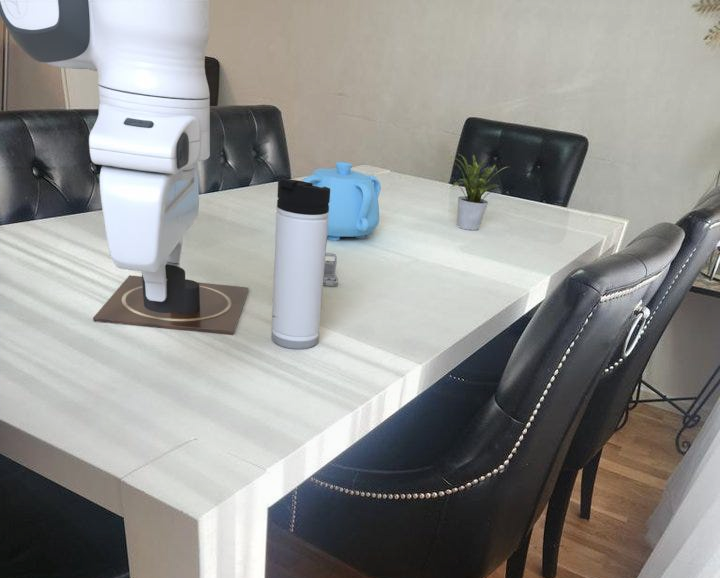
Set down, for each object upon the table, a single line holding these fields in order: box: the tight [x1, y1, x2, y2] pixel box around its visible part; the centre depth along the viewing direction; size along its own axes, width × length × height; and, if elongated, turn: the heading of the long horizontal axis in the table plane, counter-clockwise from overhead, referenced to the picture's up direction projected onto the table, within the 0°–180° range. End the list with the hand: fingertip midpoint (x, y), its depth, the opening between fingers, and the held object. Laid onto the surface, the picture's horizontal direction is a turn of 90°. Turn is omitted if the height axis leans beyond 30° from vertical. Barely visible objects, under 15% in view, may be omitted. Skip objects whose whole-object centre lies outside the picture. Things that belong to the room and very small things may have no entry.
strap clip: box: [323, 252, 339, 287], centre depth 108 cm, size 8×3×4 cm, turn 9°
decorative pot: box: [302, 161, 382, 241], centre depth 131 cm, size 16×16×14 cm
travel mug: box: [271, 178, 330, 350], centre depth 81 cm, size 6×7×20 cm
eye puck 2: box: [176, 278, 200, 314], centre depth 88 cm, size 4×4×4 cm
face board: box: [92, 274, 250, 336], centre depth 92 cm, size 18×18×1 cm
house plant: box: [450, 153, 511, 231], centre depth 150 cm, size 14×14×16 cm
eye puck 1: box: [141, 264, 186, 313], centre depth 63 cm, size 4×4×4 cm
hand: (163, 289), depth 63 cm, fingers closed on eye puck 1, 4 cm apart
